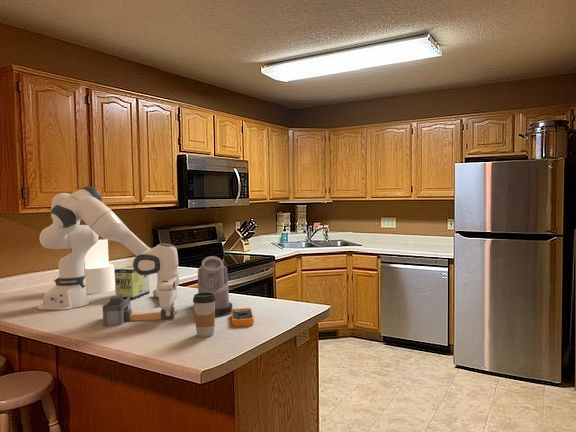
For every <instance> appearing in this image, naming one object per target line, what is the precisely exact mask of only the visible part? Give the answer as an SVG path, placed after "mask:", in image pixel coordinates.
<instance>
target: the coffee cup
mask: <svg viewBox="0 0 576 432" xmlns="http://www.w3.org/2000/svg"><path fill="white" fill-rule="evenodd" d="M192 303H193V311H194V313H193V314H194V321H195V328H196V335H197V336H198V337H201V338H207V337H211V336H213V335H214V334H215V325H216V324H215V323H216V321H215V320H216V318H215V296H214V293H208V292H206V293H196V294H194V295H193V298H192Z"/></svg>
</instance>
